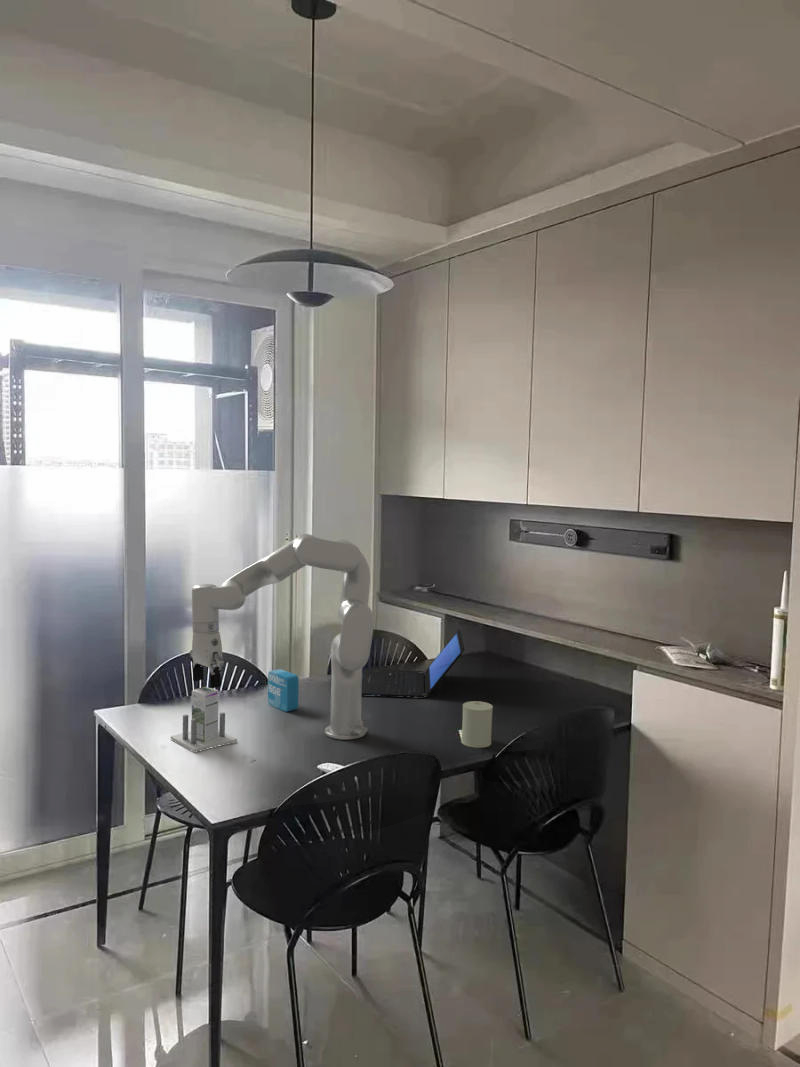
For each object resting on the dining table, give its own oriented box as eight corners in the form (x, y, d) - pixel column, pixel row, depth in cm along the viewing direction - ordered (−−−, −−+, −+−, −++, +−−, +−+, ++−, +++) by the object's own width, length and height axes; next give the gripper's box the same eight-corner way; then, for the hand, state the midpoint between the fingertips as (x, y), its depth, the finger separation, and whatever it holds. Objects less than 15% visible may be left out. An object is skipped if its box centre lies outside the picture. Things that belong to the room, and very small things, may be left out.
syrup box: (219, 736, 234) (219, 689, 233) (204, 742, 229) (204, 693, 228) (205, 732, 237) (206, 685, 236) (190, 738, 232) (191, 690, 231)
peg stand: (237, 742, 233) (237, 715, 233) (194, 752, 224) (194, 725, 223) (212, 729, 243) (212, 704, 243) (170, 739, 234) (170, 713, 233)
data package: (267, 704, 270) (267, 670, 269) (278, 702, 274) (278, 668, 273) (287, 713, 262) (288, 677, 261) (298, 710, 265) (299, 675, 264)
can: (487, 737, 245) (488, 699, 244) (494, 747, 236) (496, 708, 235) (458, 737, 244) (459, 699, 243) (464, 748, 235) (466, 708, 234)
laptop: (364, 673, 316) (366, 625, 315) (458, 677, 315) (460, 629, 314) (358, 697, 283) (359, 644, 281) (462, 701, 282) (464, 648, 280)
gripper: (232, 629, 227) (233, 687, 228) (202, 620, 239) (203, 675, 241) (209, 633, 222) (210, 692, 223) (179, 623, 234) (180, 680, 236)
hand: (206, 683), depth 232 cm, fingers open, 9 cm apart
